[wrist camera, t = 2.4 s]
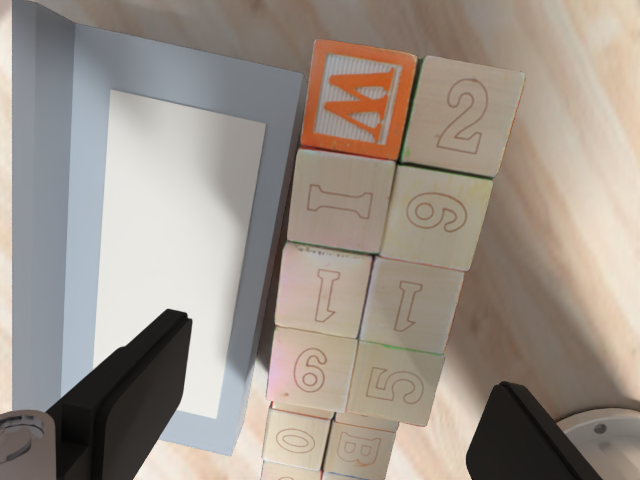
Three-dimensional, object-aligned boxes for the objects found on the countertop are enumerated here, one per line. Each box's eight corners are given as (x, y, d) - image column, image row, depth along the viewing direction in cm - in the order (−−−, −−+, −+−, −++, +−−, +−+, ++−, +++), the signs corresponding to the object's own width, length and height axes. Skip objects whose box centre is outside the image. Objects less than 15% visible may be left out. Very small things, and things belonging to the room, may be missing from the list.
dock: (308, 85, 21) (297, 59, 16) (242, 424, 27) (219, 487, 22) (93, 38, 21) (11, -4, 16) (76, 385, 27) (12, 438, 22)
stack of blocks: (360, 405, 26) (377, 610, 14) (282, 390, 26) (232, 580, 14) (426, 121, 21) (536, 65, 9) (329, 104, 21) (313, 29, 9)
